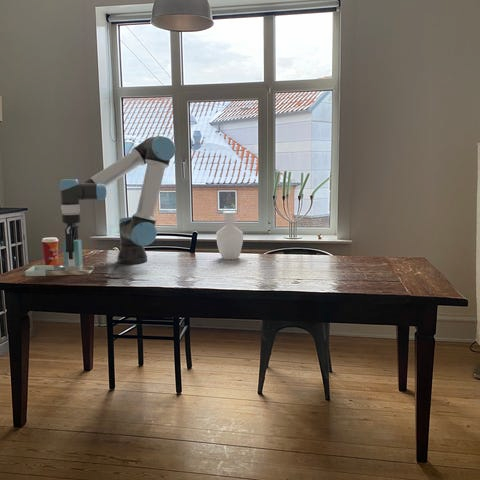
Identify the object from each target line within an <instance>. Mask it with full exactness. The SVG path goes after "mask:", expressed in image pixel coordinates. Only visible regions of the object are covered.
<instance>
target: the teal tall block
mask: <svg viewBox="0 0 480 480" xmlns="http://www.w3.org/2000/svg"><path fill="white" fill-rule="evenodd" d="M62 244H63V245H62V247H63V248H62V249H63V251H62V252H63V262H64V263H63V266H64V268H65V271H82V270H83V266H84V265H83V264H84V263H83V248H82V247H83V245H82V239H79V240H74V253H75V266H68V252H66V239H65V240H64V241H62Z"/></svg>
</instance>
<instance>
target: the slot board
mask: <svg viewBox="0 0 480 480" xmlns="http://www.w3.org/2000/svg"><path fill="white" fill-rule="evenodd" d="M62 266H63V267H64V265H62ZM53 269H54V266H53ZM94 270H95V266H94V265H83V270H82V271H54V270H46V276H73V275H74V276H76V275H77V276H78V275H79V276H80V275H82V276H83V275H84V276H85V275H87V276H88V275H90V274H91V273H92V272H93V271H94Z"/></svg>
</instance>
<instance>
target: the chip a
mask: <svg viewBox="0 0 480 480" xmlns="http://www.w3.org/2000/svg"><path fill="white" fill-rule="evenodd" d="M56 271H65V268H64V267H57V268H56Z"/></svg>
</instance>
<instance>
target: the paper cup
mask: <svg viewBox="0 0 480 480" xmlns="http://www.w3.org/2000/svg"><path fill="white" fill-rule="evenodd" d="M41 242H42V243H41V244H42V249H43V257H44V258H43V259H44V265H53V267H54V266H57V265H59V239H58V237H43V238H42V240H41Z"/></svg>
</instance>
